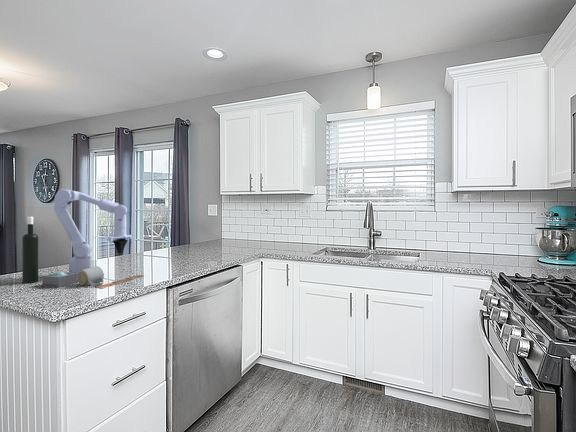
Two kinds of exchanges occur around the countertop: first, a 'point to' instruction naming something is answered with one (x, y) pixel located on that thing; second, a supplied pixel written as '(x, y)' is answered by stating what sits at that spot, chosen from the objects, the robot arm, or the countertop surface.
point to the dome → (59, 274)
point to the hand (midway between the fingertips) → (120, 253)
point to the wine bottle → (30, 255)
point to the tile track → (119, 281)
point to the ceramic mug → (91, 276)
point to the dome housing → (59, 280)
